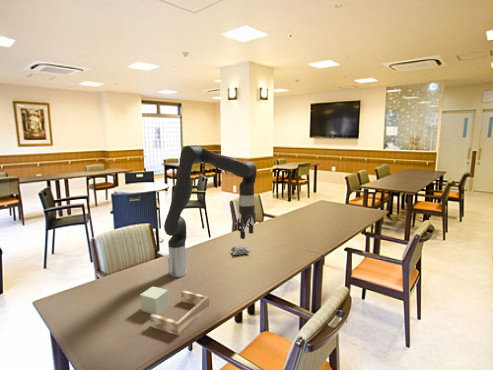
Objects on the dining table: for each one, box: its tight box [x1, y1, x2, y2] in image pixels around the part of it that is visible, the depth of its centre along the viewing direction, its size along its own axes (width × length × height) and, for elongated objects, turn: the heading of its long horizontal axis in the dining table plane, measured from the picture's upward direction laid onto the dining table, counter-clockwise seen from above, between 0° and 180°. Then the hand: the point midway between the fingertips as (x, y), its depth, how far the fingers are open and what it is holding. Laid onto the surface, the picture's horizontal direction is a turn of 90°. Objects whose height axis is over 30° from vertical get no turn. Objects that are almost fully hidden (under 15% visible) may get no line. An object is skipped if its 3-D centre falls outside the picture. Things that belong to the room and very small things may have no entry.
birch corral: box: [149, 289, 210, 337], centre depth 128 cm, size 14×22×5 cm, turn 155°
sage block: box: [139, 286, 170, 315], centre depth 134 cm, size 9×8×8 cm
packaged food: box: [230, 245, 252, 256], centre depth 195 cm, size 9×12×5 cm
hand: (246, 235), depth 143 cm, fingers open, 8 cm apart
